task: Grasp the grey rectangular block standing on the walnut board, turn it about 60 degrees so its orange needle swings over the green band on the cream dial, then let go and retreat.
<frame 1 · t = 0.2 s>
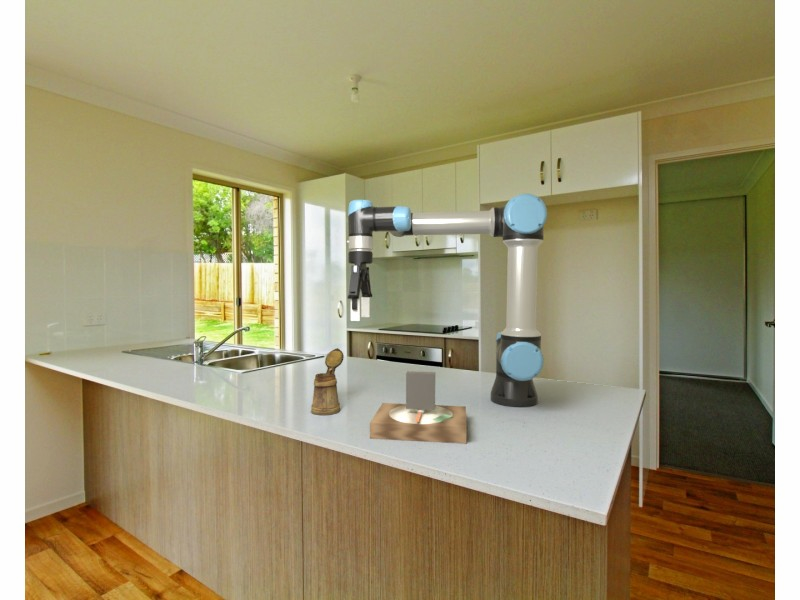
hand: (360, 318, 136), 28 cm above the counter, fingers open, 13 cm apart
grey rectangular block: (419, 396, 112), point 10 cm above the counter, hinge at 0.0°
board: (420, 428, 117), on the counter
wooden mug: (329, 409, 135), on the counter
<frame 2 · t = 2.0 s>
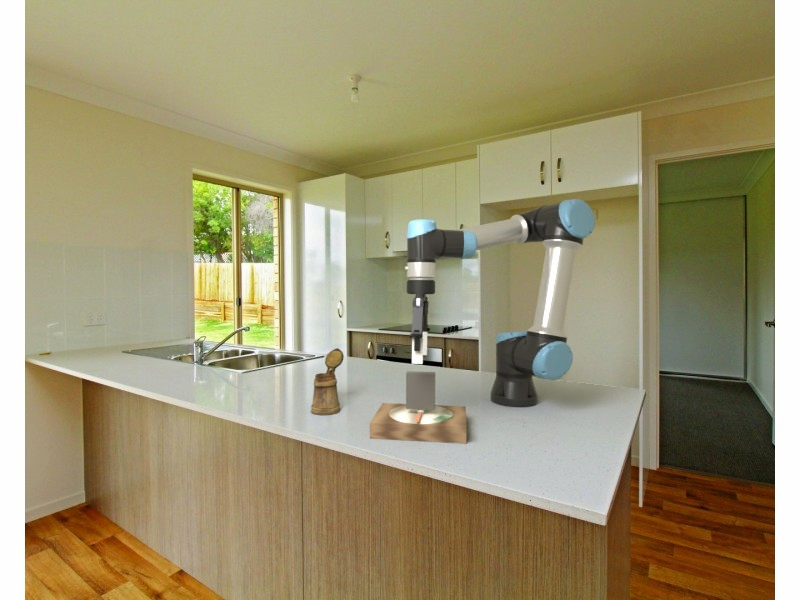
hand: (419, 359, 116), 19 cm above the counter, fingers open, 13 cm apart
nothing on the counter moved.
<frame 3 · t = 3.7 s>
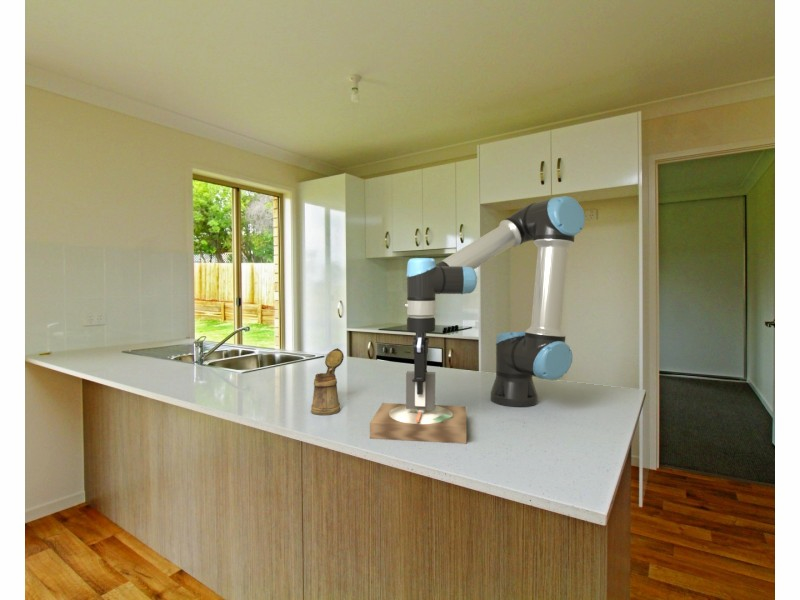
hand: (420, 404, 116), 7 cm above the counter, fingers closed on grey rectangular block, 2 cm apart
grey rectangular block: (419, 396, 112), point 10 cm above the counter, hinge at 0.0°, touching gripper
everything else where it was.
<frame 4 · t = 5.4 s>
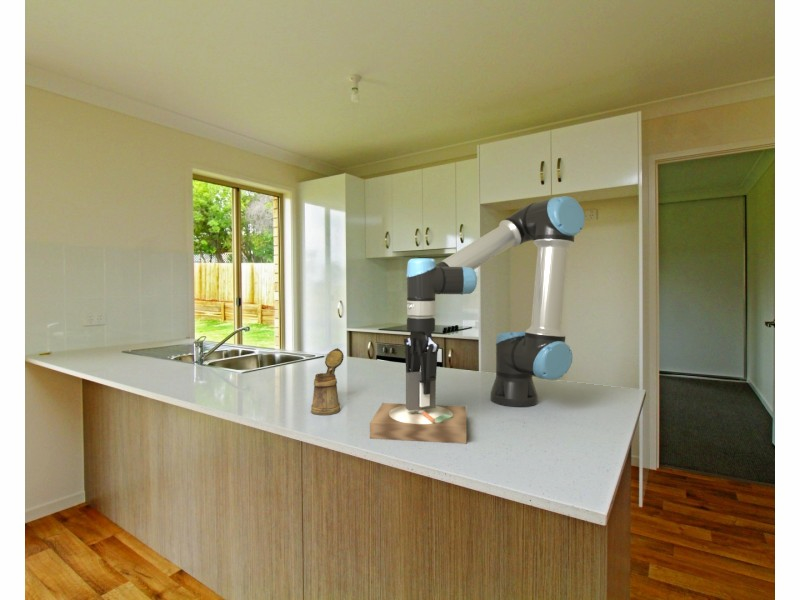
hand: (420, 404, 116), 7 cm above the counter, fingers closed on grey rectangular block, 3 cm apart
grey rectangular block: (426, 396, 112), point 10 cm above the counter, hinge at 26.1°, touching gripper
everything else where it was.
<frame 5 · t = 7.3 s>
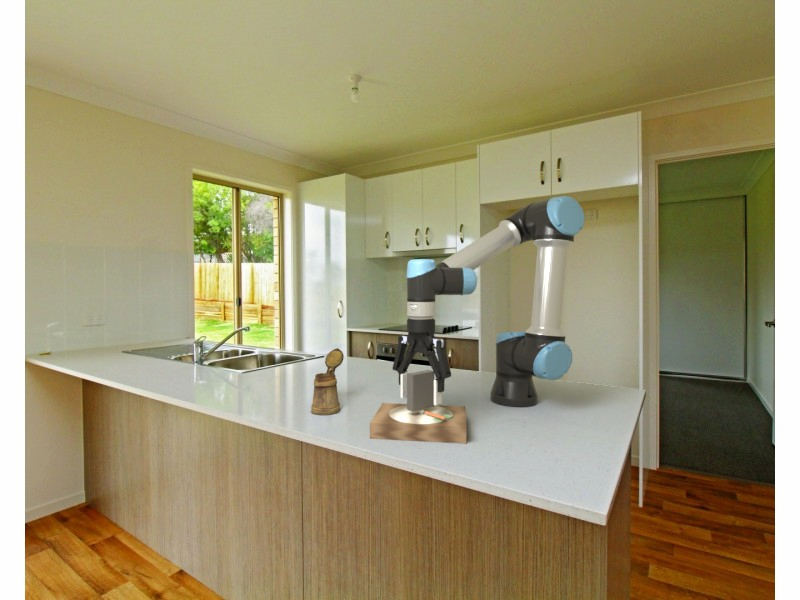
hand: (420, 400, 116), 8 cm above the counter, fingers open, 10 cm apart
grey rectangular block: (430, 395, 113), point 10 cm above the counter, hinge at 47.9°
everything else where it was.
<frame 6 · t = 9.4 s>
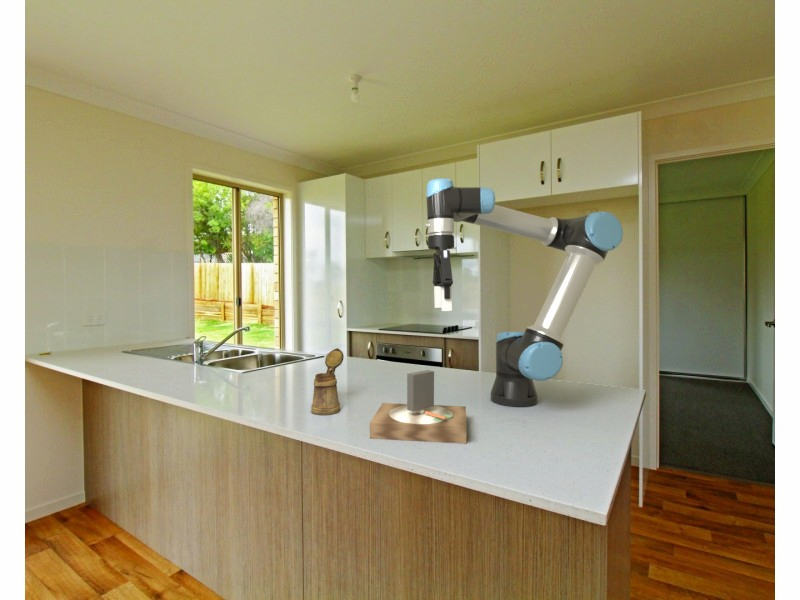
hand: (442, 309, 125), 31 cm above the counter, fingers open, 13 cm apart
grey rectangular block: (431, 395, 113), point 10 cm above the counter, hinge at 49.0°
everything else where it was.
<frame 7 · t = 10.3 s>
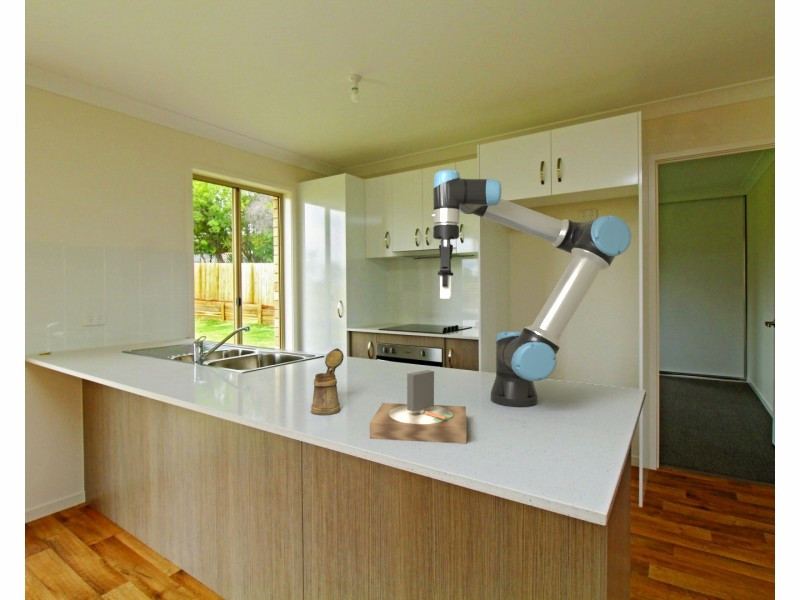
hand: (445, 297, 128), 35 cm above the counter, fingers open, 13 cm apart
nothing on the counter moved.
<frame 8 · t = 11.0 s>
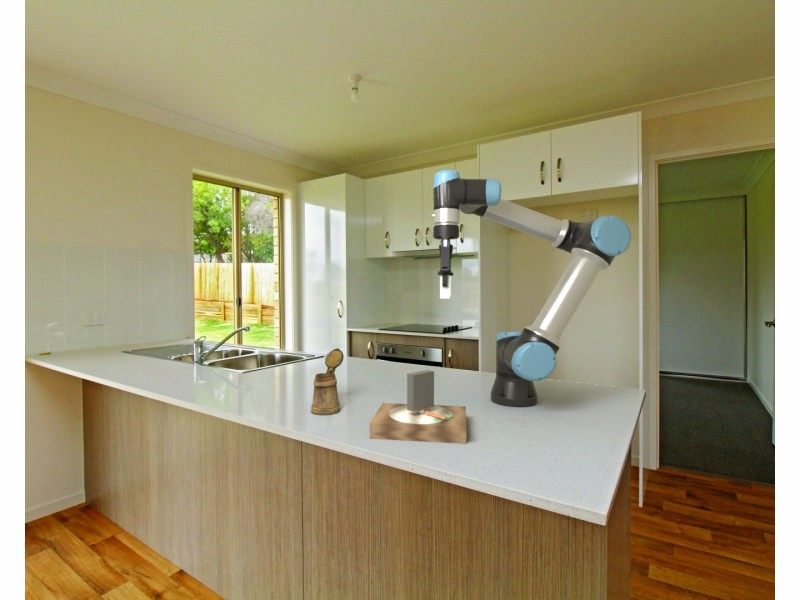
hand: (445, 297, 128), 35 cm above the counter, fingers open, 13 cm apart
nothing on the counter moved.
at the end: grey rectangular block at +49° (first picture: +0°); the gripper is holding nothing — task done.
